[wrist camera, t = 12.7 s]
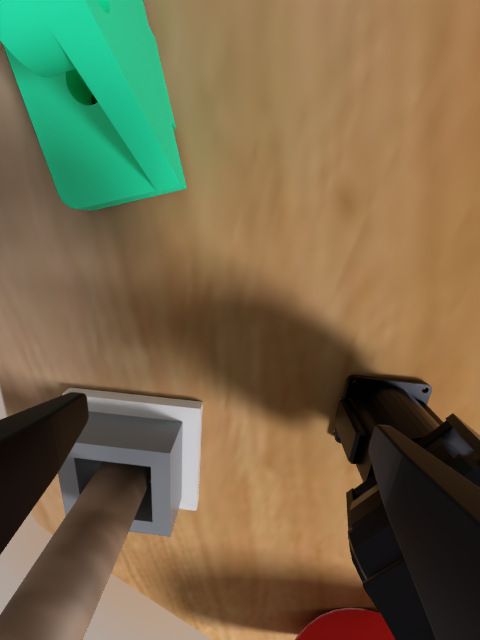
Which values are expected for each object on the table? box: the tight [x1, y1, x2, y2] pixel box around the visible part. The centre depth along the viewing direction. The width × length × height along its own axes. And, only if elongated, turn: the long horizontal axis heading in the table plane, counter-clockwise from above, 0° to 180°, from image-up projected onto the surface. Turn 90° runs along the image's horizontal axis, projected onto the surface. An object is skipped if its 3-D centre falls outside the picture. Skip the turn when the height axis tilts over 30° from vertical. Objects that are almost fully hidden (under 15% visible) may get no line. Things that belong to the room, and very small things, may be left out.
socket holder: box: [58, 387, 203, 537], centre depth 24 cm, size 12×12×4 cm
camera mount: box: [0, 0, 187, 211], centre depth 12 cm, size 12×8×10 cm, turn 11°
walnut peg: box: [0, 461, 151, 640], centre depth 19 cm, size 4×4×12 cm
